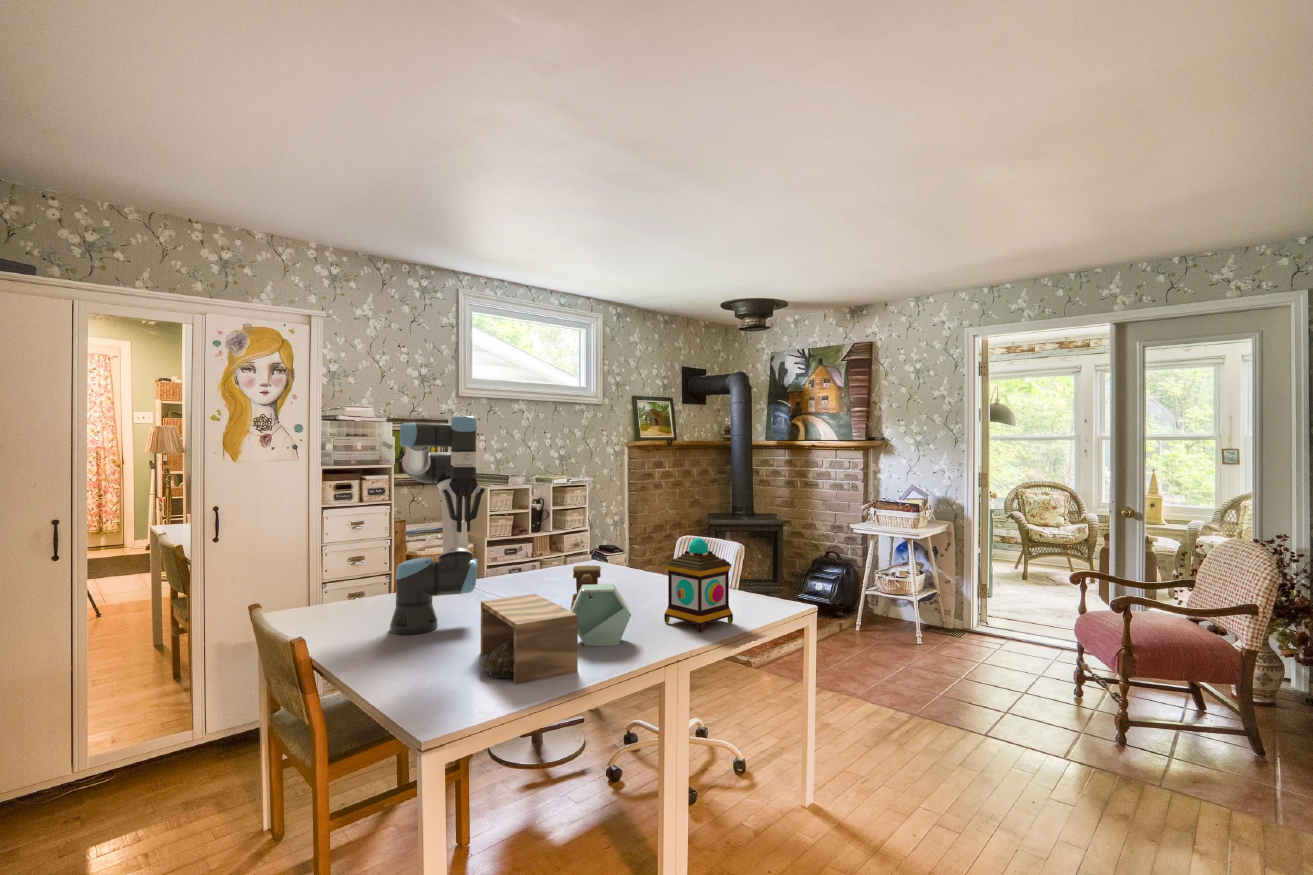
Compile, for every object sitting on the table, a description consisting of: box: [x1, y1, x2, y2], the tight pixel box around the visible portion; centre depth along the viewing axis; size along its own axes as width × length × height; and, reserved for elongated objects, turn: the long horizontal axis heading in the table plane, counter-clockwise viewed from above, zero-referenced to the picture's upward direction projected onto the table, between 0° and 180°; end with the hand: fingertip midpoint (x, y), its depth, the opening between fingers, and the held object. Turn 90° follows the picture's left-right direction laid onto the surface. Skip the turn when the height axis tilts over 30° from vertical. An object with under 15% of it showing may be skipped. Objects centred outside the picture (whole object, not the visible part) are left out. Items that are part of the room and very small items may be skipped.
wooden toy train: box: [570, 565, 602, 611], centre depth 230 cm, size 20×11×17 cm, turn 5°
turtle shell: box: [479, 640, 514, 679], centre depth 174 cm, size 16×9×20 cm
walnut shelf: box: [480, 593, 579, 685], centre depth 180 cm, size 30×18×16 cm, turn 33°
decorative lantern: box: [663, 537, 734, 634], centre depth 220 cm, size 20×20×30 cm
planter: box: [570, 583, 632, 647], centre depth 198 cm, size 17×8×21 cm
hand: (463, 542), depth 193 cm, fingers closed
